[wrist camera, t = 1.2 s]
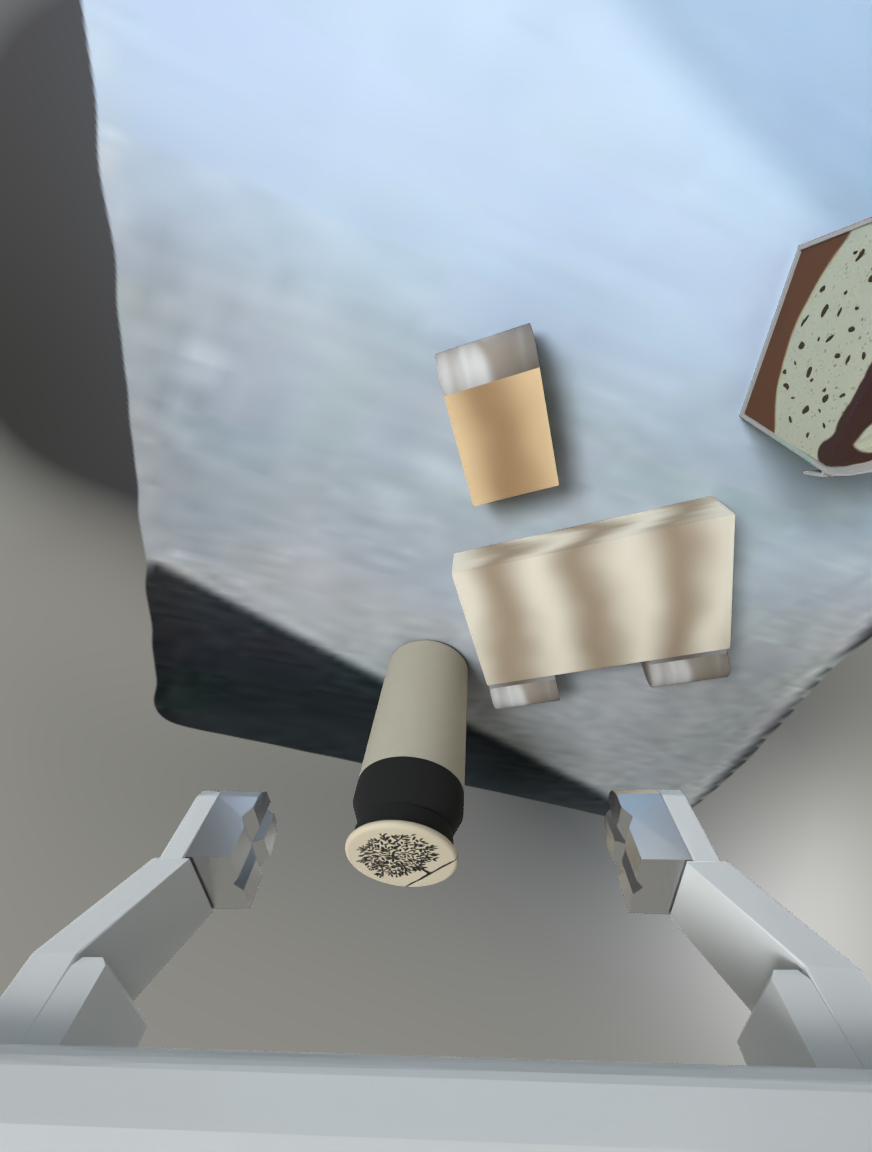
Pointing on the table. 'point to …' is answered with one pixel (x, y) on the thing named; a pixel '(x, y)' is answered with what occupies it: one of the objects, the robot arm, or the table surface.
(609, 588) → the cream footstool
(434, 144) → the table surface
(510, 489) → the tan rectangular block
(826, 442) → the food container
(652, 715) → the table surface
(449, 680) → the travel mug
